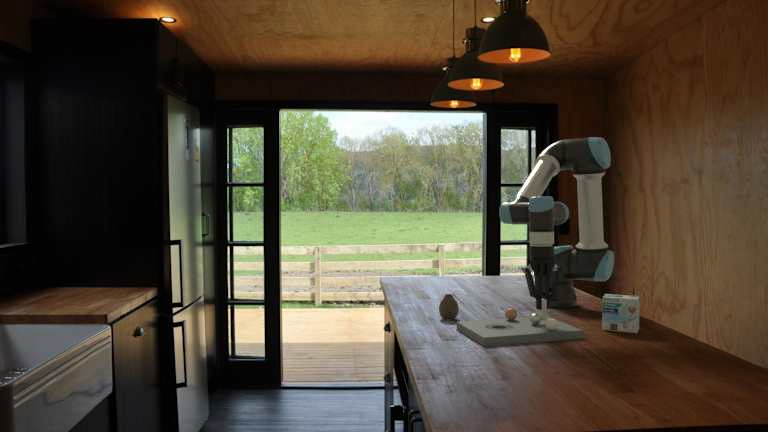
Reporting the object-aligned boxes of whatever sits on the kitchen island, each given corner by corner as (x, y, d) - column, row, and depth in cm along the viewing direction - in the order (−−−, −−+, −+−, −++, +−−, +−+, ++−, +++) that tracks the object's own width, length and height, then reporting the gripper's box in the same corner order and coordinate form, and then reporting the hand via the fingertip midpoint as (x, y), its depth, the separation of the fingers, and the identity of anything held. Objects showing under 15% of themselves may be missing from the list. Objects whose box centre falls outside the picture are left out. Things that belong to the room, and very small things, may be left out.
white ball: (553, 328, 174) (553, 317, 174) (559, 331, 171) (559, 319, 170) (543, 329, 173) (543, 318, 173) (549, 332, 170) (549, 320, 170)
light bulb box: (601, 330, 182) (601, 296, 182) (604, 326, 188) (604, 293, 188) (638, 333, 177) (638, 298, 177) (639, 329, 183) (639, 295, 183)
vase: (452, 322, 197) (452, 296, 197) (435, 319, 201) (435, 295, 201) (462, 318, 203) (462, 293, 202) (445, 316, 207) (445, 292, 207)
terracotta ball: (513, 318, 190) (513, 306, 190) (519, 320, 186) (519, 308, 186) (502, 319, 189) (502, 307, 189) (508, 321, 185) (508, 309, 185)
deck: (546, 323, 193) (546, 315, 193) (582, 338, 172) (582, 330, 172) (456, 329, 186) (456, 321, 186) (483, 346, 164) (483, 337, 164)
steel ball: (539, 316, 182) (531, 310, 181) (545, 318, 179) (537, 312, 178) (533, 325, 182) (525, 319, 181) (539, 328, 178) (531, 322, 178)
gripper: (554, 243, 185) (554, 316, 185) (517, 245, 182) (518, 318, 182) (566, 245, 178) (567, 320, 178) (528, 246, 175) (529, 323, 175)
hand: (542, 319), depth 180 cm, fingers closed
